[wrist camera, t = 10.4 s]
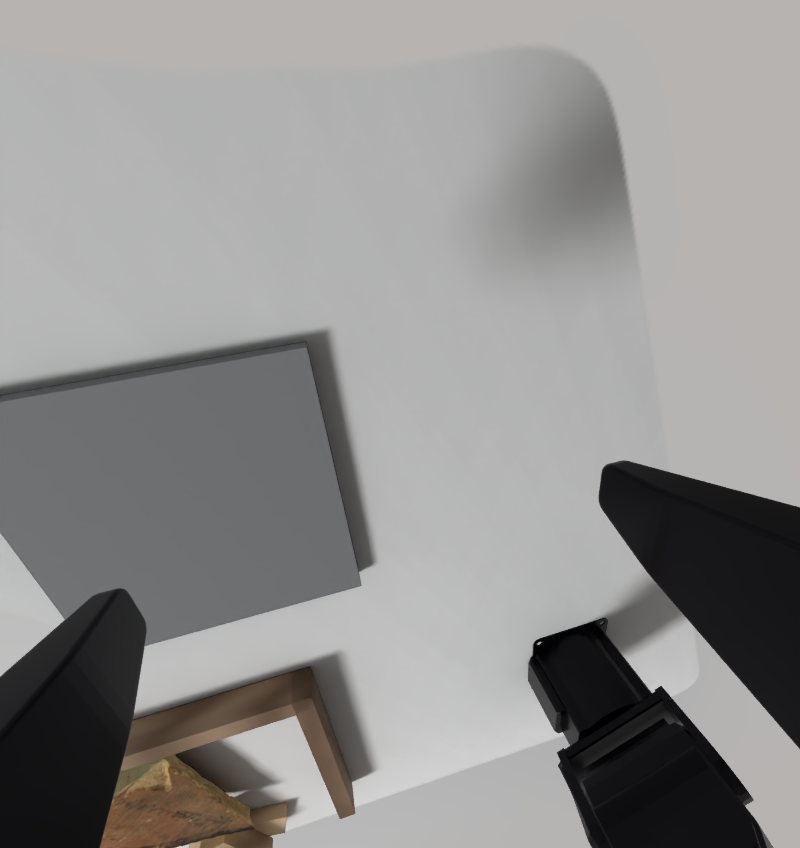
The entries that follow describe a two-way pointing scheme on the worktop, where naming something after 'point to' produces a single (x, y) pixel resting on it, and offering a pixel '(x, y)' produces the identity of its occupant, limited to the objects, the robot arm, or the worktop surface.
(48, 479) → the charcoal mat
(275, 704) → the walnut open-sided frame
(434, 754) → the worktop surface
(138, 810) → the shard
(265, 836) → the upper oak offcut
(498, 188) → the worktop surface
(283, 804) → the lower oak offcut
